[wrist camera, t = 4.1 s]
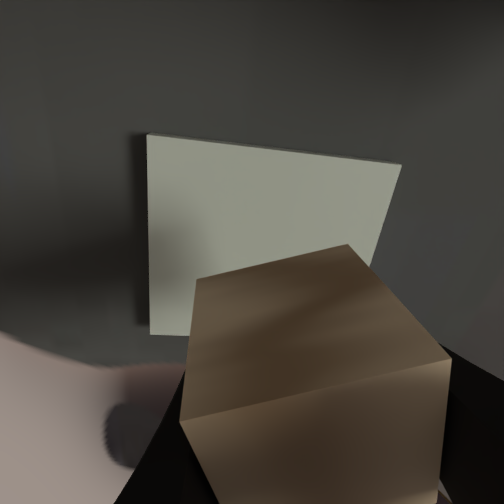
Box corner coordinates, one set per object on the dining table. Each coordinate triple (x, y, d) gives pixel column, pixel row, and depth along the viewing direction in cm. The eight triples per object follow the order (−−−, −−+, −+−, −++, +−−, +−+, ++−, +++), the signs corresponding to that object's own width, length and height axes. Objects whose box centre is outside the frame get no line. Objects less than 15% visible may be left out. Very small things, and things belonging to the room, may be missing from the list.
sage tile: (391, 161, 16) (401, 165, 15) (339, 330, 21) (345, 340, 20) (151, 132, 14) (146, 134, 14) (153, 323, 19) (150, 334, 18)
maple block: (347, 243, 10) (452, 358, 6) (356, 356, 12) (436, 503, 8) (196, 279, 10) (178, 422, 6) (232, 385, 12) (241, 547, 8)
